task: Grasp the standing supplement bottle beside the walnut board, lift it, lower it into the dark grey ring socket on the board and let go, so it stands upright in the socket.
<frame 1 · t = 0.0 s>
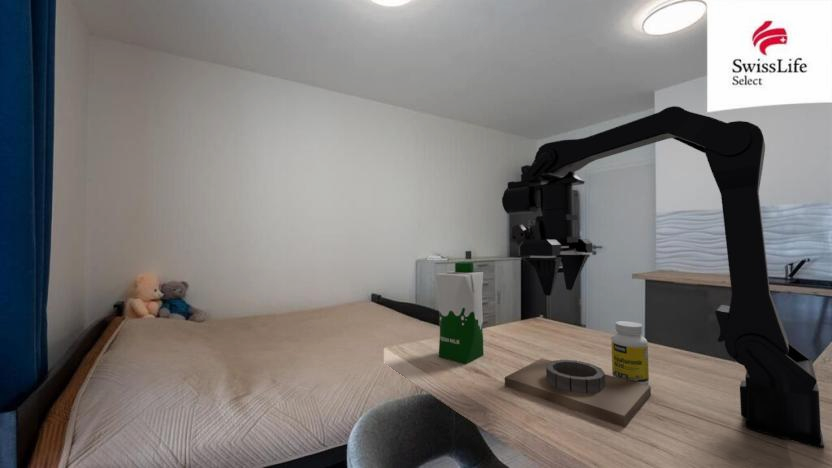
hand: (559, 292, 64), 15 cm above the table, fingers open, 9 cm apart
milk carton: (461, 357, 73), on the table
supplement bottle: (630, 381, 59), on the table
socket board: (574, 390, 55), on the table
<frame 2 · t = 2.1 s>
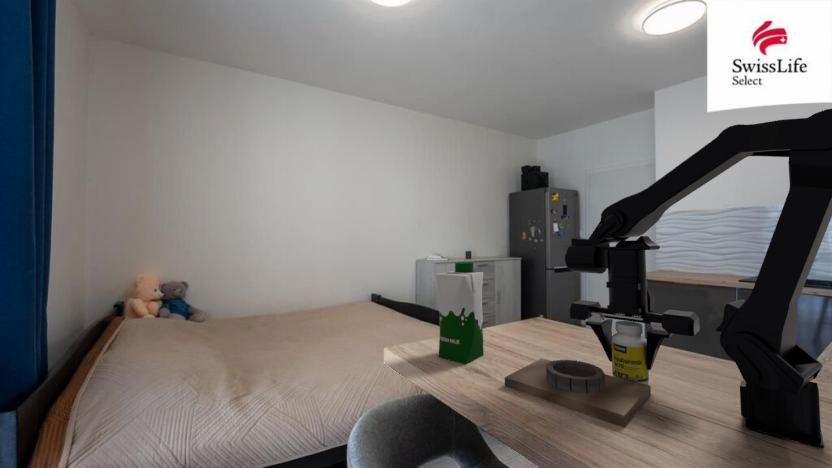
hand: (629, 365, 59), 3 cm above the table, fingers closed on supplement bottle, 5 cm apart
supplement bottle: (630, 381, 59), on the table, touching gripper
everything else where it was.
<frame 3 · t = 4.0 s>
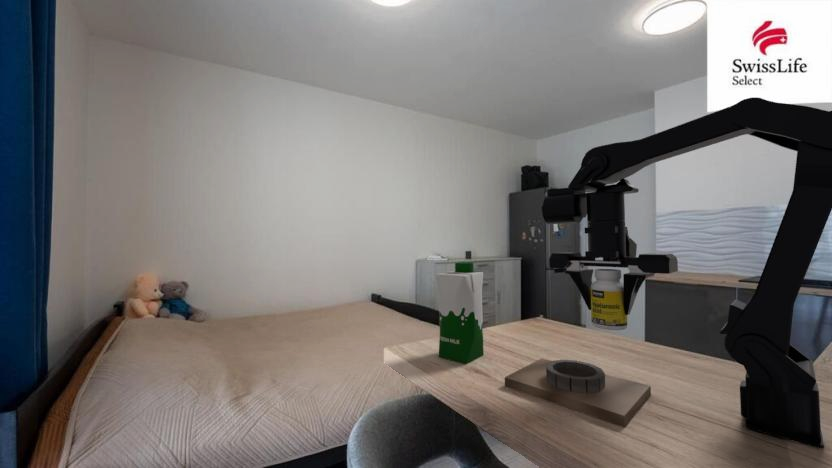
hand: (608, 312, 58), 12 cm above the table, fingers closed on supplement bottle, 5 cm apart
supplement bottle: (609, 327, 58), point 9 cm above the table, touching gripper
everything else where it was.
when the fingers open (5 cm above the table, at t = 6.2 s): supplement bottle stays where it is, resting on socket board.
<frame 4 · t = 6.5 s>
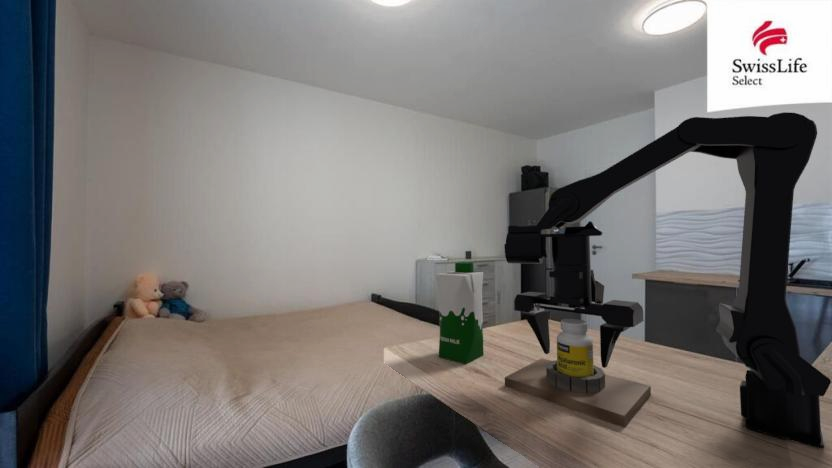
hand: (574, 359, 55), 5 cm above the table, fingers open, 9 cm apart
supplement bottle: (575, 382, 55), point 1 cm above the table, touching socket board
everything else where it was.
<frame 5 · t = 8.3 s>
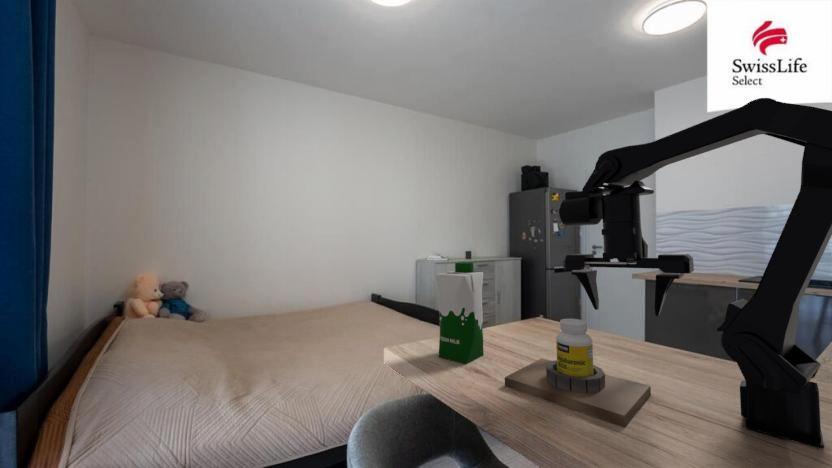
hand: (625, 312, 59), 12 cm above the table, fingers open, 9 cm apart
nothing on the table moved.
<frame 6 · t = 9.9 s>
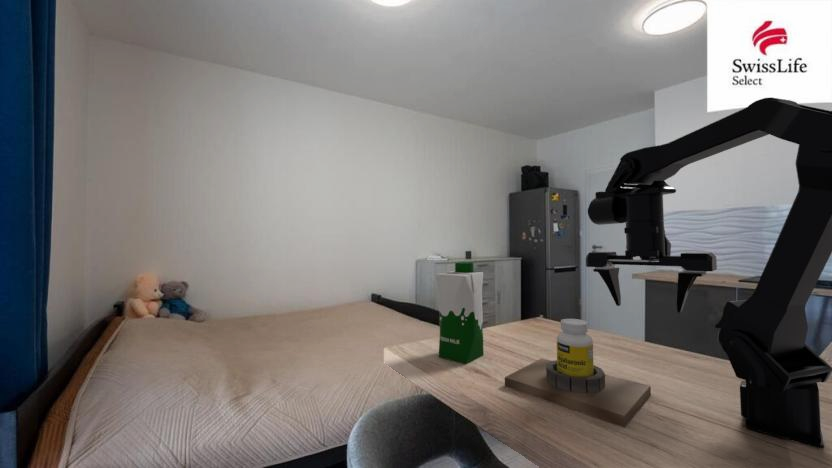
hand: (647, 308, 61), 12 cm above the table, fingers open, 9 cm apart
nothing on the table moved.
at the end: supplement bottle 0.1 cm off-centre on the socket board, point 1.3 cm above the socket board's base; supplement bottle tilted 0°; the gripper is holding nothing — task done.
